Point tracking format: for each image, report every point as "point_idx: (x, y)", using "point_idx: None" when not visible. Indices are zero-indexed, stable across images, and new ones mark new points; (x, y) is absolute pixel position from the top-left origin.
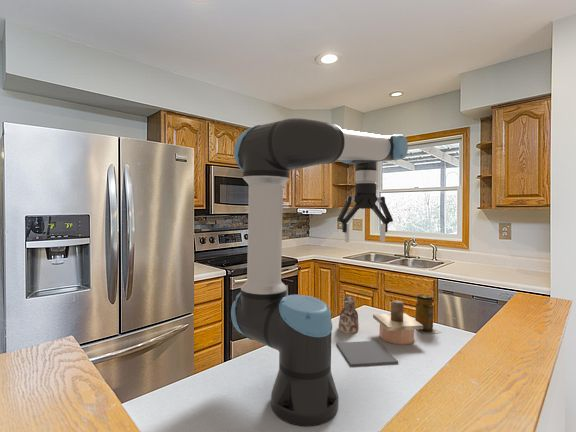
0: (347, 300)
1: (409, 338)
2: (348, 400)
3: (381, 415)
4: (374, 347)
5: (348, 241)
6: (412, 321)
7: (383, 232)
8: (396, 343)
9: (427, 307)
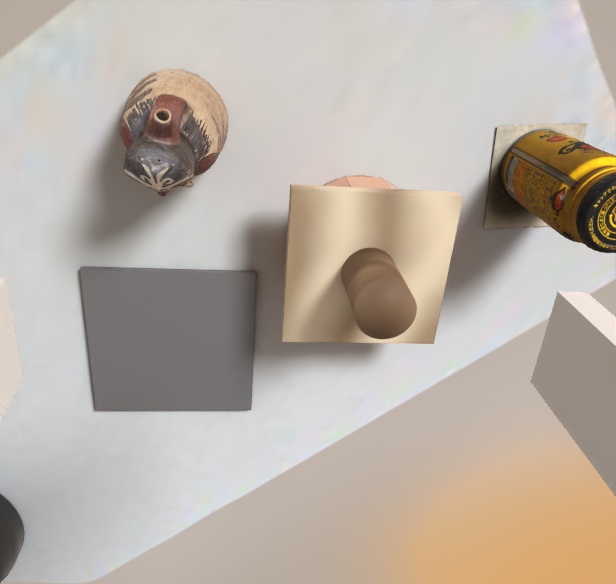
0: (142, 178)
1: None
2: (52, 524)
3: (111, 562)
4: (217, 322)
5: (13, 382)
6: (420, 302)
7: (601, 476)
8: None
9: (573, 240)
